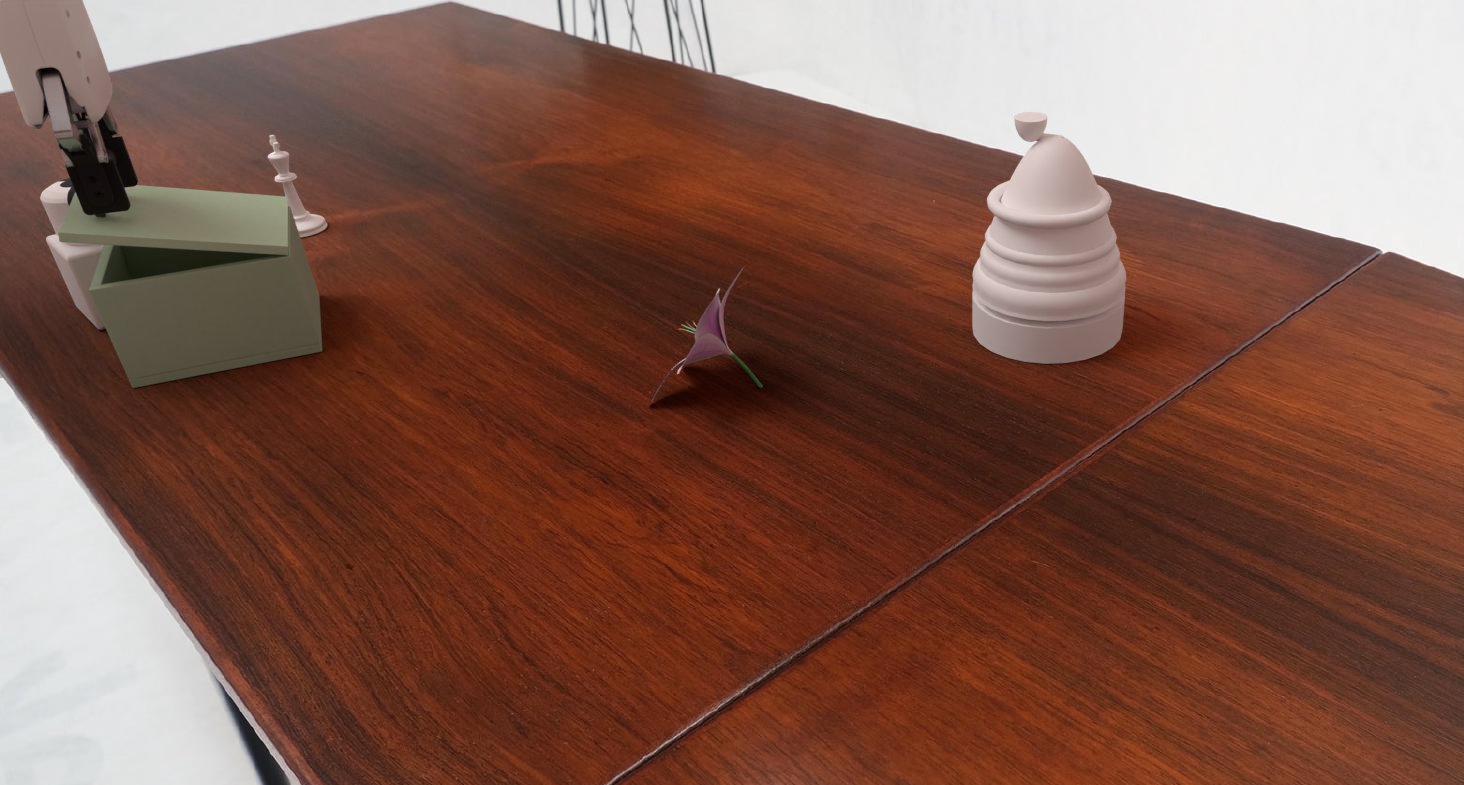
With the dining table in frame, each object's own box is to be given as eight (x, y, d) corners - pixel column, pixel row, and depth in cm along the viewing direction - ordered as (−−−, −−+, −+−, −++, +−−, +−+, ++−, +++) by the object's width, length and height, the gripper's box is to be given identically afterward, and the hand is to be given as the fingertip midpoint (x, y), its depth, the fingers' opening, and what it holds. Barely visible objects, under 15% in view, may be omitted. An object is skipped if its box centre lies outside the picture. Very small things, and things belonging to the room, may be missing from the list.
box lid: (59, 242, 92) (51, 178, 89) (80, 189, 101) (74, 130, 99) (288, 255, 98) (286, 196, 96) (288, 205, 108) (286, 150, 106)
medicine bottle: (158, 284, 116) (108, 163, 109) (183, 306, 112) (132, 181, 105) (76, 308, 112) (19, 183, 105) (99, 332, 108) (41, 203, 101)
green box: (132, 388, 99) (88, 290, 94) (146, 326, 109) (106, 234, 104) (322, 351, 104) (290, 256, 99) (319, 295, 113) (289, 205, 108)
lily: (746, 348, 104) (677, 261, 99) (835, 335, 96) (764, 239, 91) (664, 446, 98) (587, 359, 93) (751, 441, 90) (671, 344, 85)
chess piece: (286, 242, 124) (254, 147, 119) (270, 229, 127) (238, 135, 122) (334, 229, 127) (305, 135, 121) (318, 217, 130) (288, 125, 124)
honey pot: (951, 350, 101) (948, 137, 91) (999, 288, 111) (1001, 89, 100) (1101, 374, 97) (1116, 153, 86) (1137, 307, 106) (1154, 102, 96)
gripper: (-17, -60, 92) (74, 172, 102) (-69, -16, 79) (42, 244, 89) (95, -66, 95) (173, 161, 105) (63, -24, 82) (155, 230, 92)
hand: (112, 197), depth 97 cm, fingers closed on box lid, 5 cm apart
